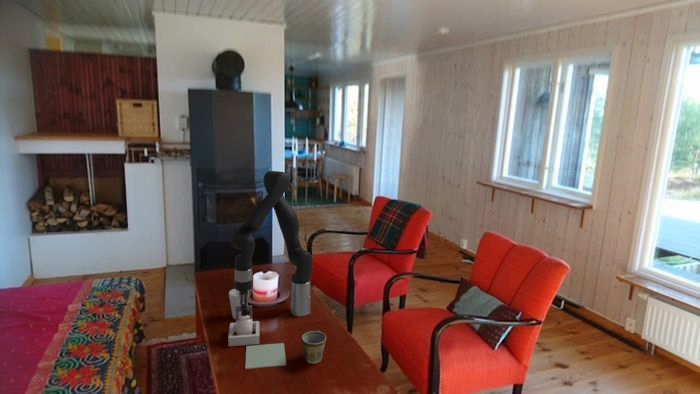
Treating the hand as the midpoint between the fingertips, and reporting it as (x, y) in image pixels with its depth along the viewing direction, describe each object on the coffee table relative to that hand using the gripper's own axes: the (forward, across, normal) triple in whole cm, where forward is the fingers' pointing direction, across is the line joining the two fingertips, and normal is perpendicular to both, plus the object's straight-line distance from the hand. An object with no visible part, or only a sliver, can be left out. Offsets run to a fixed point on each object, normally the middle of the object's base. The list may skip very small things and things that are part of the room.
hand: (244, 314), depth 186 cm
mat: (+11, -16, -9) cm, 21 cm away
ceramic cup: (+11, -20, -29) cm, 37 cm away
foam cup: (+11, +20, +3) cm, 23 cm away
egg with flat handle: (+11, 0, 0) cm, 11 cm away
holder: (+11, 0, 0) cm, 11 cm away
